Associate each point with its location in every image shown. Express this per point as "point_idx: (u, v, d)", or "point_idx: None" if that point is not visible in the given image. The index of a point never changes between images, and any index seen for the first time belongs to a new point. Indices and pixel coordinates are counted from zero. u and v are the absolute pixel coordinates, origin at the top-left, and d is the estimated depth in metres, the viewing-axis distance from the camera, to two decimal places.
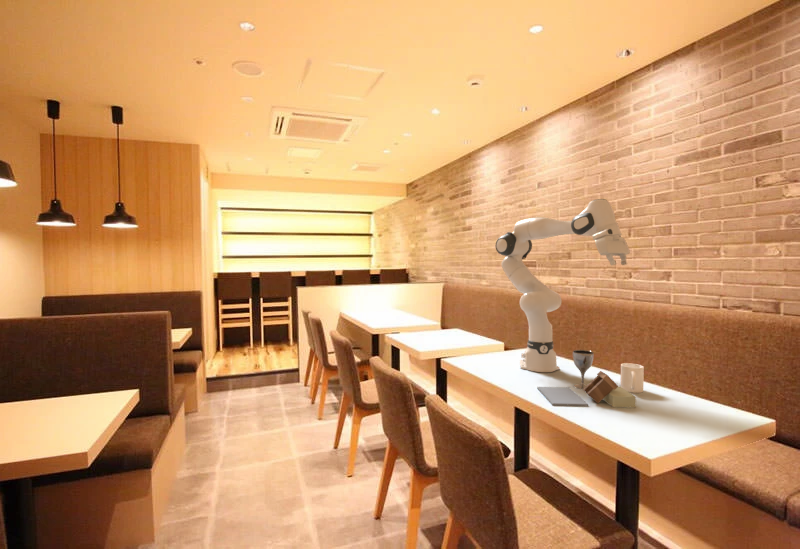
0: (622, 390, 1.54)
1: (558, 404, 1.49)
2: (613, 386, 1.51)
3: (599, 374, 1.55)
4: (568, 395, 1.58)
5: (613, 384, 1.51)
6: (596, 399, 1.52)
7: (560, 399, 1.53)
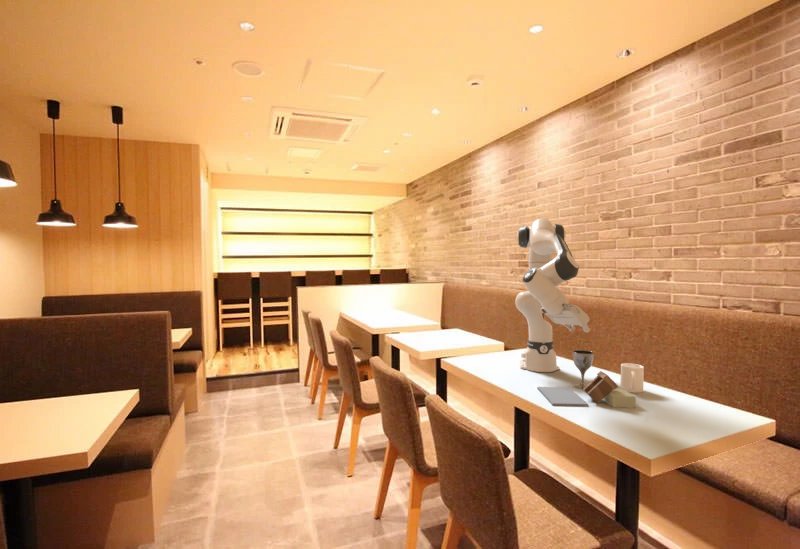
0: (622, 390, 1.54)
1: (558, 404, 1.49)
2: (613, 386, 1.51)
3: (599, 374, 1.55)
4: (568, 395, 1.58)
5: (613, 384, 1.51)
6: (596, 399, 1.52)
7: (560, 399, 1.53)
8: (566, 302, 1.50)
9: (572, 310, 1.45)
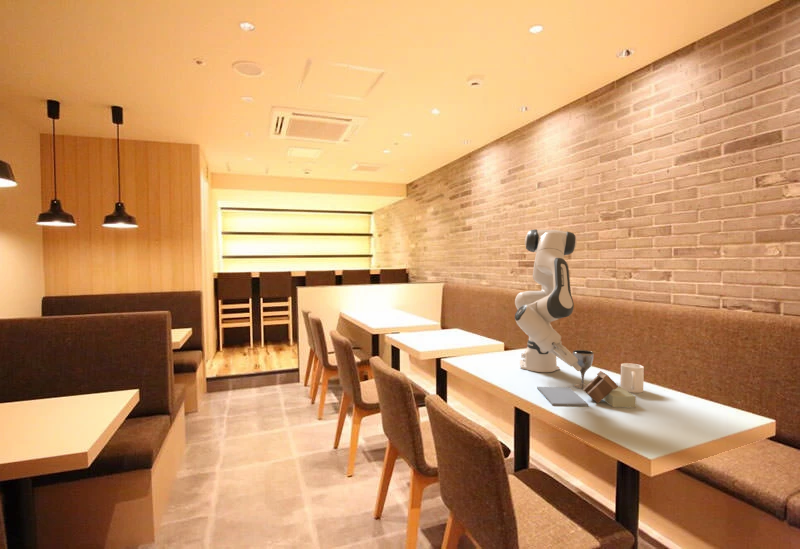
0: (622, 390, 1.54)
1: (558, 404, 1.49)
2: (613, 386, 1.51)
3: (599, 374, 1.55)
4: (568, 395, 1.58)
5: (613, 384, 1.51)
6: (596, 399, 1.52)
7: (560, 399, 1.53)
8: (556, 340, 1.51)
9: (559, 351, 1.46)
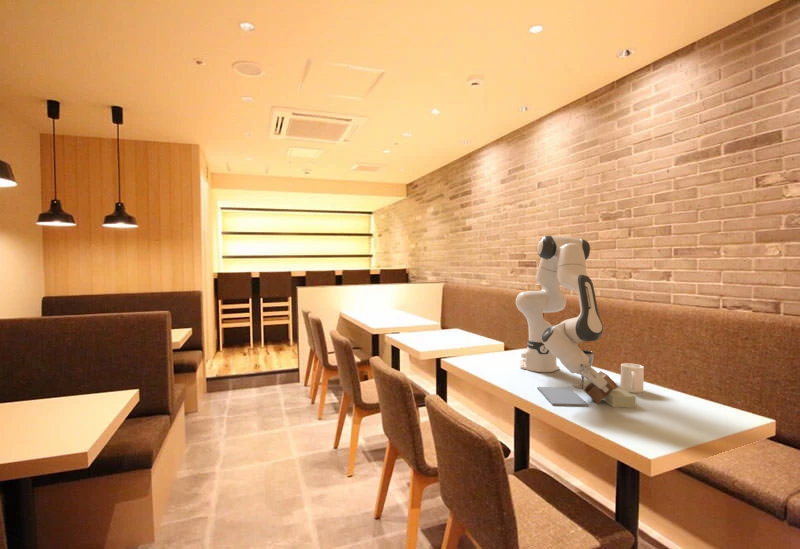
0: (622, 390, 1.54)
1: (558, 404, 1.49)
2: (613, 386, 1.51)
3: None
4: (568, 395, 1.58)
5: (613, 384, 1.51)
6: (596, 399, 1.52)
7: (560, 399, 1.53)
8: (585, 362, 1.50)
9: (588, 374, 1.45)
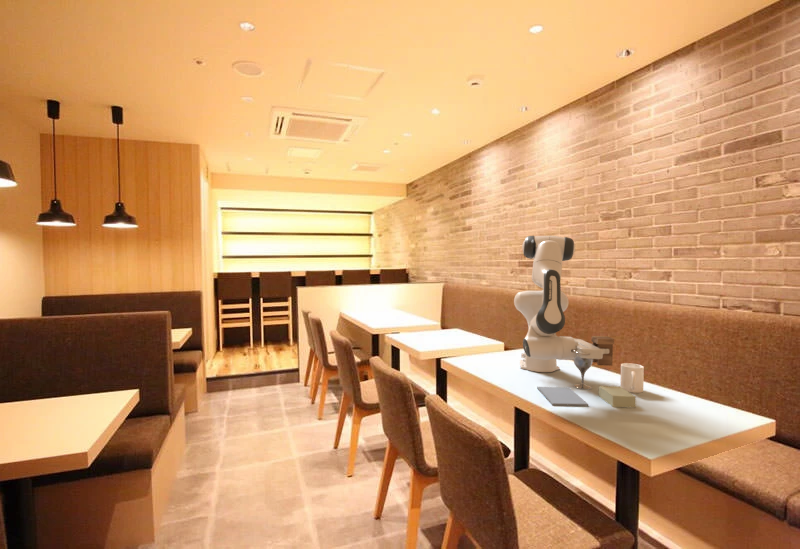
0: (622, 390, 1.54)
1: (558, 404, 1.49)
2: (611, 342, 1.51)
3: (593, 340, 1.55)
4: (568, 395, 1.58)
5: (609, 341, 1.51)
6: (608, 363, 1.51)
7: (560, 399, 1.53)
8: (573, 346, 1.50)
9: (582, 356, 1.45)
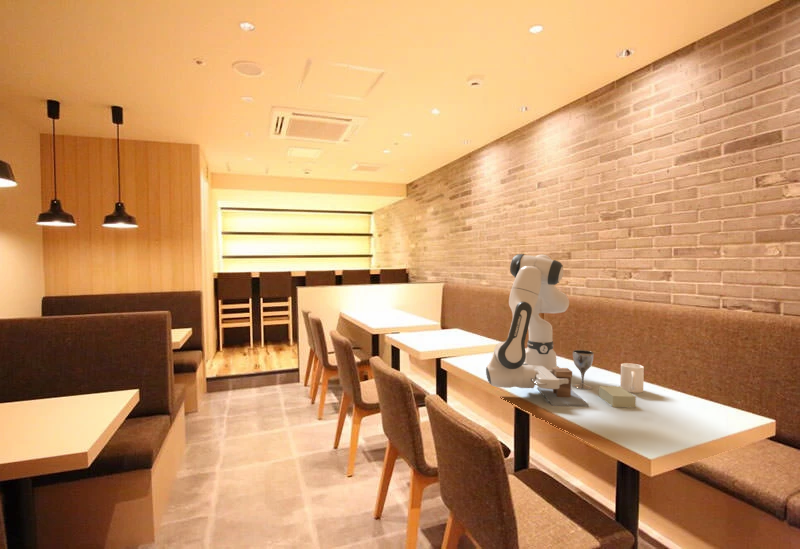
0: (622, 390, 1.54)
1: (558, 404, 1.49)
2: (569, 375, 1.56)
3: (553, 372, 1.60)
4: None
5: (567, 373, 1.56)
6: (566, 395, 1.56)
7: (560, 399, 1.53)
8: (532, 375, 1.56)
9: None
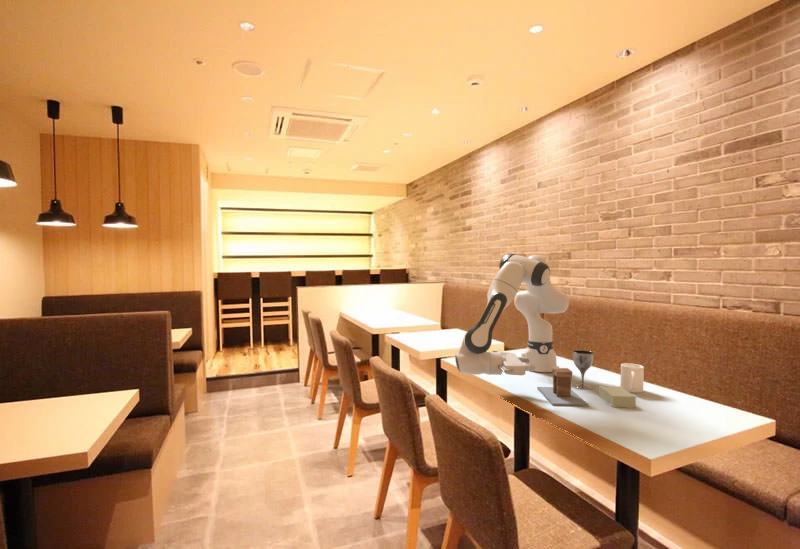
0: (622, 390, 1.54)
1: (558, 404, 1.49)
2: (569, 375, 1.56)
3: (553, 372, 1.60)
4: None
5: (567, 373, 1.56)
6: (566, 395, 1.56)
7: (560, 399, 1.53)
8: (499, 361, 1.57)
9: (506, 372, 1.52)
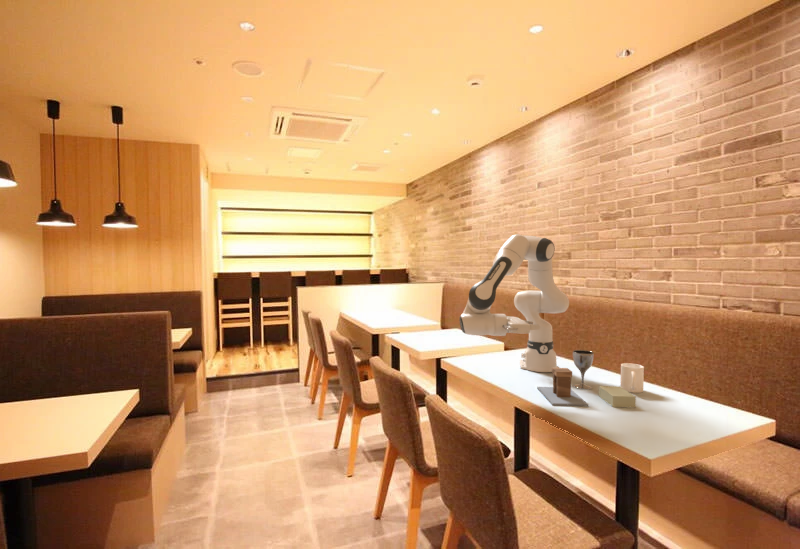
0: (622, 390, 1.54)
1: (558, 404, 1.49)
2: (569, 375, 1.56)
3: (553, 372, 1.60)
4: None
5: (567, 373, 1.56)
6: (566, 395, 1.56)
7: (560, 399, 1.53)
8: (504, 322, 1.58)
9: (511, 330, 1.53)
